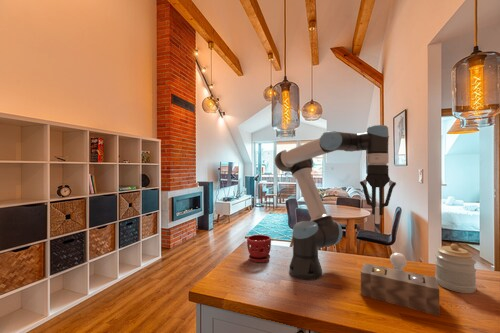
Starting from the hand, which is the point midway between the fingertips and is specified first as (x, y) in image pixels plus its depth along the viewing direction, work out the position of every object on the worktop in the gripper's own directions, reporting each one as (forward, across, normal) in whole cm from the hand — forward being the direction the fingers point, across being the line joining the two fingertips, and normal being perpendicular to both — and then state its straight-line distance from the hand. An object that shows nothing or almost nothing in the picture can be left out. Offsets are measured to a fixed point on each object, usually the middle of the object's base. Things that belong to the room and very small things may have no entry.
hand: (377, 223), depth 93 cm
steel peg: (+26, +13, -1) cm, 29 cm away
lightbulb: (+28, +7, +19) cm, 34 cm away
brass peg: (+26, +1, -1) cm, 26 cm away
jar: (+28, +26, +23) cm, 45 cm away
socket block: (+28, +7, -1) cm, 28 cm away
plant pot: (+28, -57, +2) cm, 64 cm away
